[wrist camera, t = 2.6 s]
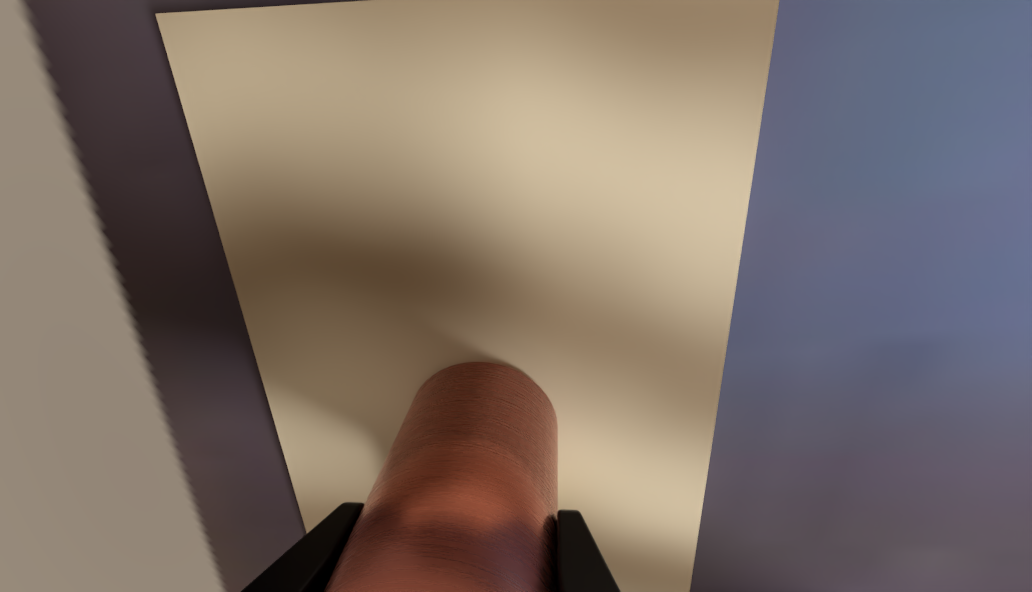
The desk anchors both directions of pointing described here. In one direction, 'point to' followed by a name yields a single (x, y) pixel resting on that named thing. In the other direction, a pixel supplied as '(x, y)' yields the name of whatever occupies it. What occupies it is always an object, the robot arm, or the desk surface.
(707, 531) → the desk surface
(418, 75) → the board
